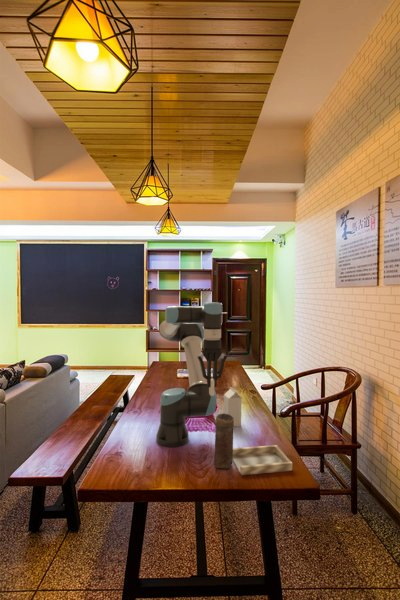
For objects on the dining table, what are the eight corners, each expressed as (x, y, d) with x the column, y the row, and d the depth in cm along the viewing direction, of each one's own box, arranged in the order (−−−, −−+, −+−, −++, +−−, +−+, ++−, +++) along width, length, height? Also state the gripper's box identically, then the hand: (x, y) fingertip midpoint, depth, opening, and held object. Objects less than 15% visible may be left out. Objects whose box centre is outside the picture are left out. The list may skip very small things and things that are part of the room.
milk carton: (228, 427, 167) (228, 391, 167) (223, 422, 174) (224, 387, 173) (241, 426, 169) (241, 390, 169) (236, 420, 176) (236, 386, 175)
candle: (231, 461, 134) (232, 413, 134) (234, 470, 127) (235, 420, 126) (213, 461, 134) (214, 413, 133) (214, 471, 127) (215, 420, 126)
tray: (241, 475, 124) (241, 467, 124) (230, 455, 139) (230, 448, 139) (292, 470, 128) (292, 463, 128) (276, 451, 143) (276, 444, 143)
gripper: (199, 340, 131) (198, 398, 132) (229, 339, 134) (229, 396, 135) (195, 338, 139) (194, 393, 139) (224, 337, 142) (223, 391, 142)
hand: (211, 394), depth 137 cm, fingers closed
